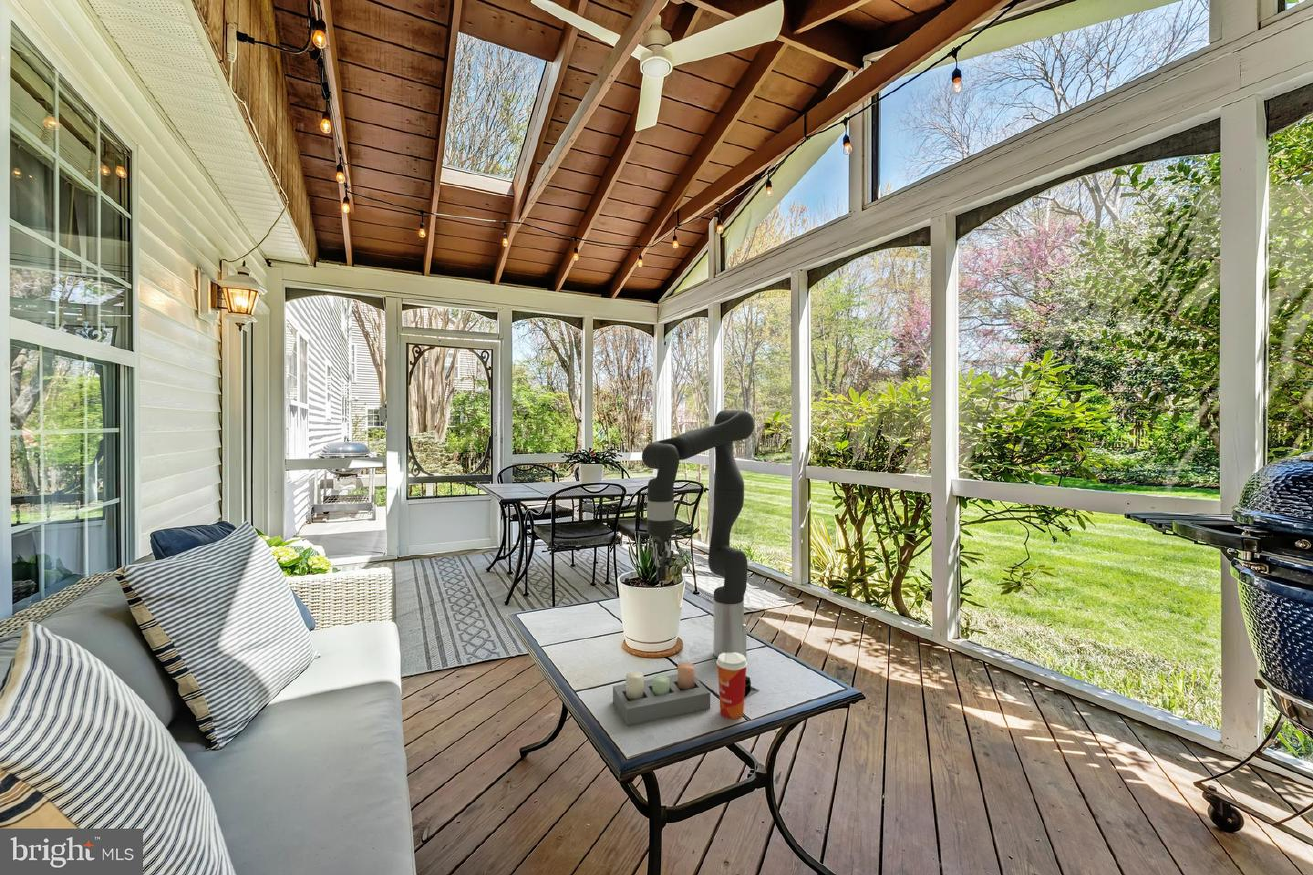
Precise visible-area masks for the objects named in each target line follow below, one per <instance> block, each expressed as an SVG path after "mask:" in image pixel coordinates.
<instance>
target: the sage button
mask: <svg viewBox="0 0 1313 875" xmlns="http://www.w3.org/2000/svg"><path fill="white" fill-rule="evenodd" d="M651 679H652V693H653V694H654V695H655V696H658V695H663V694H668V693H670V679H669V678H668V677H666V675H656V676H653V678H651Z"/></svg>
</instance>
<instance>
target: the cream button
mask: <svg viewBox="0 0 1313 875" xmlns="http://www.w3.org/2000/svg"><path fill="white" fill-rule="evenodd" d="M625 684H626V697H627V698H629V699H632V700H637V699H640V698H642V697H643V696H644V673H642V672H640V671H630V672H627V673H626V674H625Z"/></svg>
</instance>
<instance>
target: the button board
mask: <svg viewBox="0 0 1313 875" xmlns="http://www.w3.org/2000/svg"><path fill="white" fill-rule="evenodd" d="M665 676H666V675H665ZM666 677H668V678H669V679H670V693H668V694H663V695H658V696H655V695H654V694H653V693H652V679H653V678H651V679H645V680H644V696H643V697H642V698H640V699H637V700H632V699H629V698H627V697H626V683H625V684H624V683H623V684H619V685H618V684H617V685H613V686H612V702H613V704H614V706H615V707H616V709H617V711H618V713H619V715H620V716H621V718H622V719H623V721H624V723H625V725H626V726H627V727H628V726H632V725H638V724H642V723H646V722H647V723H648V722H652V721H655V720H660V719H665V718H670V717H675V716H680V715H685V714H689V713H693V712H694V713H695V712H698V711H703V710H707V709H708V710H709V709H711V692H710V691H709V690H708V689H707V688H706V687H705V685H703V683H702V682H701V681H700V680H699V679H698V678H697V677H696V676H695V686H694V688H692V689H688V690H685V689H681V688H679V687H678V673H677V674H673V675H667V676H666Z"/></svg>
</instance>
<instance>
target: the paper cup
mask: <svg viewBox="0 0 1313 875" xmlns="http://www.w3.org/2000/svg"><path fill="white" fill-rule="evenodd" d="M716 665H717V674H718V676H717V677H718V694H719V695H718V696H719V697H718V698H719V707H720V708H719V709H720V715H721V716H722V717H724V718H726V719H731V720H736V719H740V718H742V717H743V715H744V708H745V706H744V705H745V700H744V695H745V679H746V676H747V667H748V661H747V659H746V656H744V655H742V654H740V653H736V652H733V653H732V652H727V653H722V654H720V655H719V656H718V658H717V659H716Z"/></svg>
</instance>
